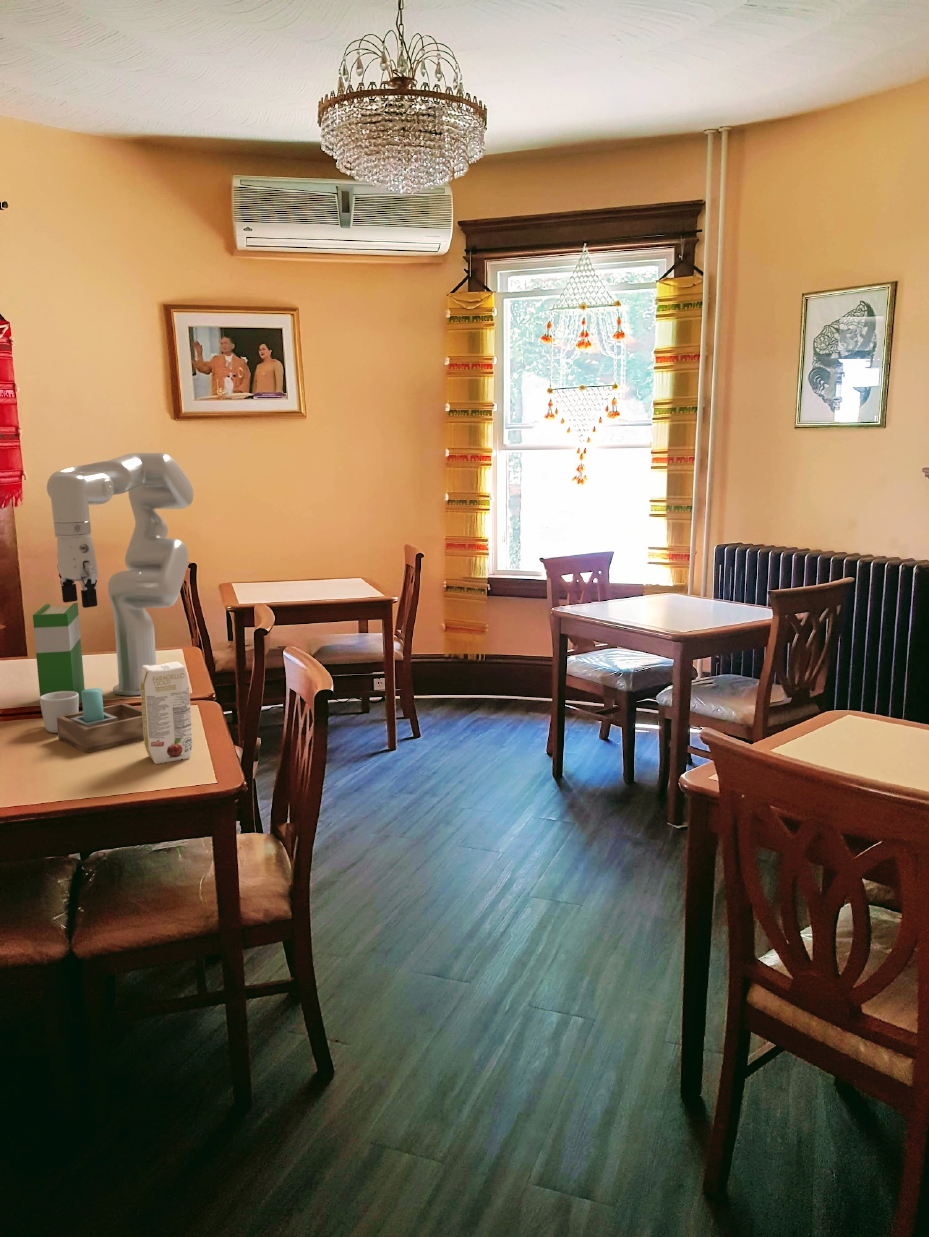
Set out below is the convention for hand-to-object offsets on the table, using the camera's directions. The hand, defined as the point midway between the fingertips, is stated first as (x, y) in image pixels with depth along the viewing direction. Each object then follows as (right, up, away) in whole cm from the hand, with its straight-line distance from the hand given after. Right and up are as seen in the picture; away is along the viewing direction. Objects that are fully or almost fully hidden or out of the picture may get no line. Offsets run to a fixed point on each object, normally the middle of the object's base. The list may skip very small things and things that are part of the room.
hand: (80, 604), depth 199 cm
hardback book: (-11, -25, +17) cm, 32 cm away
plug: (+9, -28, -13) cm, 32 cm away
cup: (-3, -28, -4) cm, 29 cm away
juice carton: (+28, -32, -24) cm, 49 cm away
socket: (+9, -29, -12) cm, 33 cm away
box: (+11, -29, -11) cm, 33 cm away
